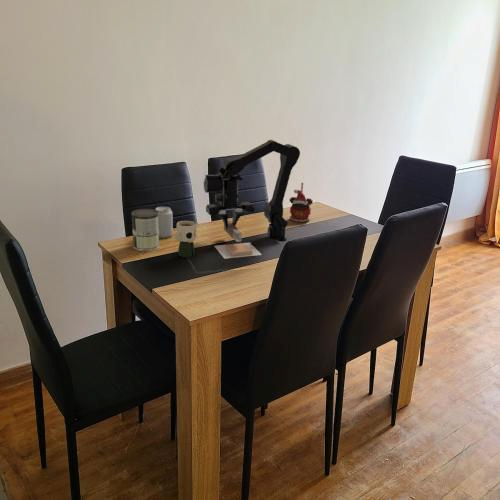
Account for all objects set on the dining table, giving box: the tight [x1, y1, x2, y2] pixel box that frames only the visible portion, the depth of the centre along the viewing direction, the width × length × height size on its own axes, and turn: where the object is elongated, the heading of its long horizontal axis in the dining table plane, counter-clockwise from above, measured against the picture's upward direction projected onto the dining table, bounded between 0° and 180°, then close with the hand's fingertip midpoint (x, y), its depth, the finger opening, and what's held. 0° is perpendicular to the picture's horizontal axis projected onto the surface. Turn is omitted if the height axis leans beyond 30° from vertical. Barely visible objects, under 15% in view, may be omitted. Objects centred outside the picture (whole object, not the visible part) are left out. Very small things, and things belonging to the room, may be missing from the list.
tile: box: [224, 242, 252, 257], centre depth 196 cm, size 8×2×9 cm
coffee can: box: [130, 208, 160, 252], centre depth 198 cm, size 10×10×14 cm
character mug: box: [175, 220, 197, 258], centre depth 190 cm, size 11×7×13 cm, turn 145°
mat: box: [214, 242, 263, 260], centre depth 197 cm, size 15×14×1 cm
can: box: [155, 206, 174, 239], centre depth 210 cm, size 8×8×12 cm
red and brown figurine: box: [289, 182, 313, 223], centre depth 237 cm, size 11×9×18 cm
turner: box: [223, 220, 243, 243], centre depth 202 cm, size 2×16×4 cm, turn 20°
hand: (229, 228), depth 205 cm, fingers closed on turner, 2 cm apart
